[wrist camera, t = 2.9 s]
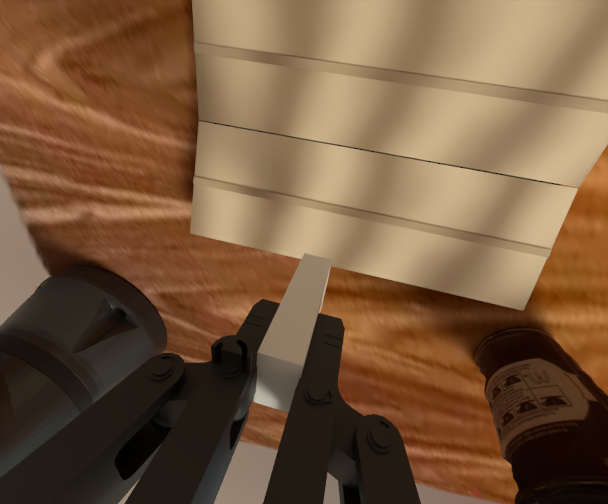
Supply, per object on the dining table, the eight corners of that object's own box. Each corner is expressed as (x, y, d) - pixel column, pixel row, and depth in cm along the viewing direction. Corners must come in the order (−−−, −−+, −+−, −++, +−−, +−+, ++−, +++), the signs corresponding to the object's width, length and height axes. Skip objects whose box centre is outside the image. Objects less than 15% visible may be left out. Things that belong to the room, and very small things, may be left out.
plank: (198, 230, 22) (189, 233, 21) (207, 124, 20) (197, 120, 19) (513, 303, 19) (524, 311, 18) (562, 188, 17) (579, 188, 16)
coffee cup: (438, 359, 26) (488, 554, 15) (503, 299, 21) (646, 512, 10) (520, 397, 26) (633, 621, 15) (602, 346, 22) (849, 607, 10)
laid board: (207, 118, 20) (197, 119, 19) (201, -35, 16) (188, -45, 14) (566, 182, 17) (579, 187, 16) (671, 15, 13) (700, 6, 12)
